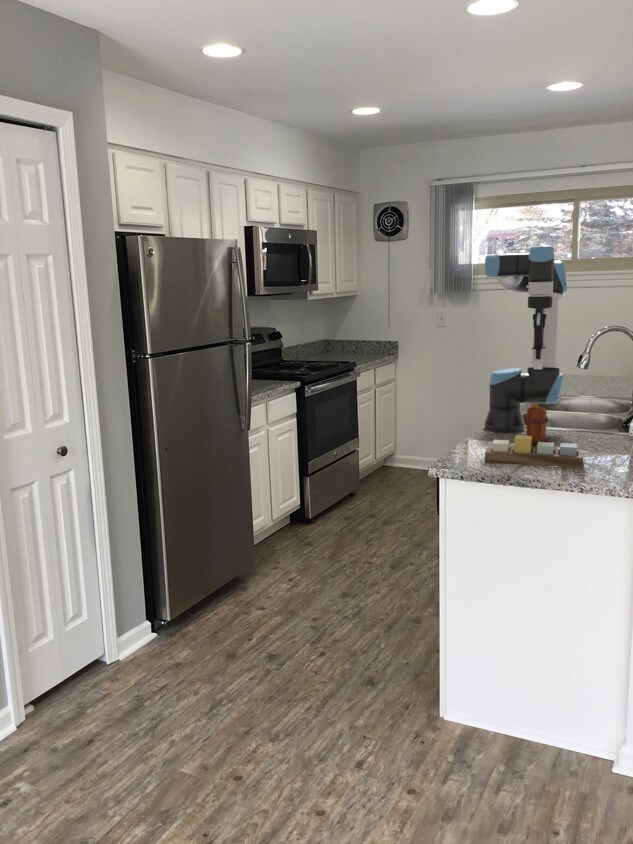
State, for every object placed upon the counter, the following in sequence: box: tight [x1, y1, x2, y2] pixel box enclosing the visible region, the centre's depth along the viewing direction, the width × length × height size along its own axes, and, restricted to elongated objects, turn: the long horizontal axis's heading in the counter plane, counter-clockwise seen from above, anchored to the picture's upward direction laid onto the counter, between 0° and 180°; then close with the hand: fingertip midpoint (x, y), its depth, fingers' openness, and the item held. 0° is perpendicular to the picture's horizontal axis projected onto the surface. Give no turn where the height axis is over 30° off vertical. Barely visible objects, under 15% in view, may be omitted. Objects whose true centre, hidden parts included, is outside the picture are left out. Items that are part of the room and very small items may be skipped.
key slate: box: [559, 442, 578, 456], centre depth 230 cm, size 5×5×5 cm
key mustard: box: [513, 434, 532, 453], centre depth 235 cm, size 5×5×5 cm
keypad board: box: [484, 444, 584, 470], centre depth 234 cm, size 10×30×4 cm, turn 70°
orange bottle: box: [524, 402, 550, 448], centre depth 252 cm, size 15×8×15 cm, turn 168°
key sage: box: [537, 441, 555, 455], centre depth 233 cm, size 5×5×5 cm
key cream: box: [491, 439, 511, 452], centre depth 237 cm, size 5×5×5 cm
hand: (537, 368), depth 235 cm, fingers closed
